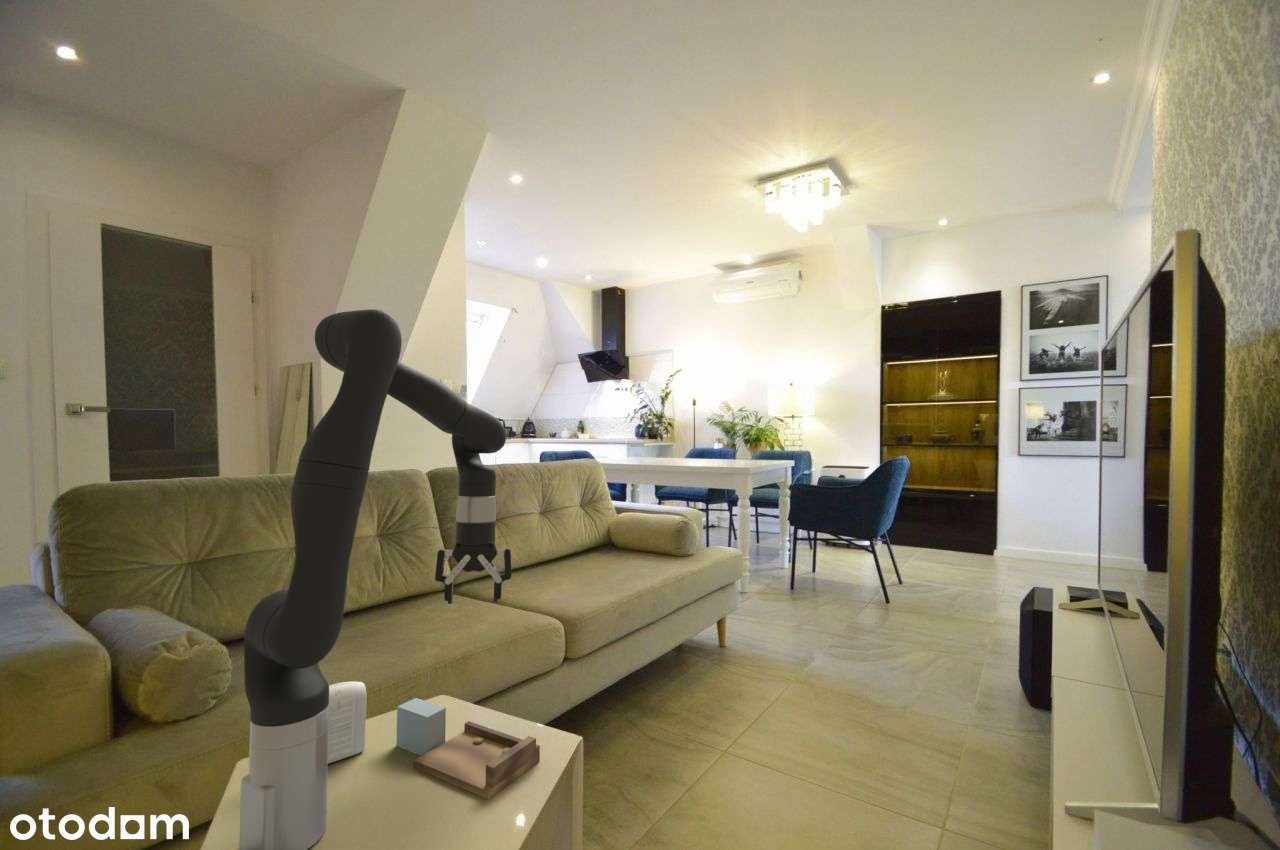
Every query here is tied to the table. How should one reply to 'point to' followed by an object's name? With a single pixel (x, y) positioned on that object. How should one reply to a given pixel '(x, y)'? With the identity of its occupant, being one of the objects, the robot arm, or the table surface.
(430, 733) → the tall pale blue block
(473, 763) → the board
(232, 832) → the table surface
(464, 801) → the table surface
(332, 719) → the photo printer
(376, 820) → the table surface
